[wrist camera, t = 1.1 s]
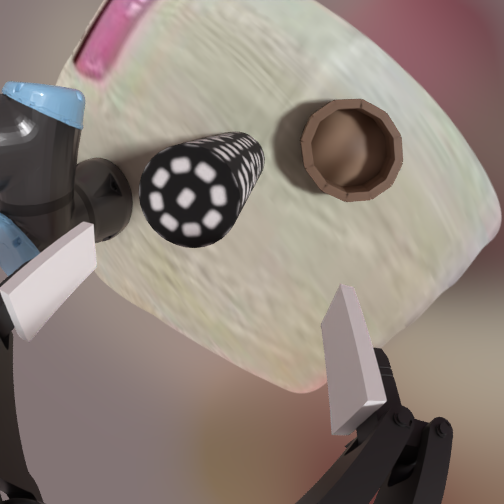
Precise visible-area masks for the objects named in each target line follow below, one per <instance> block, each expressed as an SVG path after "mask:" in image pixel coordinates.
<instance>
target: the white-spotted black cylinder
mask: <svg viewBox="0 0 504 504" xmlns="http://www.w3.org/2000/svg"><path fill="white" fill-rule="evenodd" d="M264 160H265V158H264V152H263V150H262V147H261V146H260V144H259V143H258V142H257V141H256V140H255V139H254V138H253V137H251V136H250V135H248V134H245V133H242V132H229V133H225V134H220V135H215V136H211V137H206V138H202V139H198V140H194V141H190V142H186V143H182V144H178V145H175V146H171V147H168V148H166V149H164V150H162V151H160V152H159V153H158V154H156V155H155V156H154V157H153V158H152V159H151V160H150V161H149V163H148V164H147V165H146V167H145V169H144V171H143V173H142V176H141V180H140V184H139V199H140V205H141V208H142V211H143V214H144V216H145V218H146V220H147V221H148V223H149V224H150V226H151V227H152V228H153V229H154V230H155V231H156V232H157V233H158V234H159V235H160V236H161V237H163V238H164V239H166V240H167V241H169V242H171V243H173V244H176V245H179V246H183V247H189V248H198V247H205V246H208V245H211V244H214V243H215V242H217V241H219V240H220V239H222V238H223V237H224V236H225V235H226V234H227V233H228V232H229V231H230V230H231V228H232V227H233V225H234V224H235V222H236V220H237V218H238V216H239V214H240V212H241V210H242V208H243V206H244V205H245V203H246V201H247V199H248V197H249V195H250V193H251V191H252V190H253V188H254V186H255V184H256V182H257V180H258V178H259V176H260V175H261V173H262V170H263V168H264Z"/></svg>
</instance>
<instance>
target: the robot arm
mask: <svg viewBox="0 0 504 504" xmlns="http://www.w3.org/2000/svg"><path fill="white" fill-rule="evenodd" d="M2 92H3V94H0V266H1V268H2V269H3V271H4V272H5V273H6V274H7V275H8V277H7V278H6V279H5V280H4V281H3V282H2V283H1V284H0V490H1V491H3V492H4V493H6V494H7V496H8V497H9V500H5V501H2V498H1V495H0V504H45V503H44V502H43V500H42V497H41V494H40V491H39V489H38V486H37V484H36V482H35V480H34V479H33V478H32V476H31V475H30V474H29V472H28V469H27V466H26V462H25V459H24V454H23V450H22V445H21V440H20V435H19V429H18V423H17V415H16V407H15V397H14V384H13V334H12V332H11V331H12V330H13V328H14V327H15V329H16V331H17V333H18V336H19V337H21V338H22V339H24V340H25V341H27V342H28V343H29V342H30V341H31V340H32V339H33V337H34V336H35V335H36V334H37V332H38V331H39V330H40V329H41V328H42V326H43V325H44V324H45V323H46V322H47V320H48V319H49V318H50V317H51V316H52V314H53V313H54V312H55V311H56V310H57V309H58V308H59V307H60V306H61V304H62V303H63V302H64V301H65V300H66V299H67V298H68V297H69V295H71V293H72V292H73V291H74V290H75V289H76V288H77V287H78V286H79V285H80V284H81V283H82V282H83V281H84V280H85V279H86V277H88V276H89V275H90V273H91V272H92V271H93V270H94V269H95V268H96V267H97V261H96V251H95V243H98V242H101V241H106V240H109V239H112V238H113V237H115V236H116V235H118V234H119V233H120V232H121V231H123V230H124V228H125V227H126V226H127V224H128V222H129V220H130V217H131V213H132V195H131V190H130V187H129V184H128V182H127V180H126V178H125V176H124V175H123V173H122V172H121V171H120V169H119V168H118V167H117V166H116V165H114V164H113V163H112V162H110V161H108V160H106V159H102V158H92V159H88V160H85V161H83V162H81V163H79V164H77V156H78V148H79V141H80V135H81V130H82V129H83V124H82V123H83V116H84V109H85V97H84V95H83V93H82V92H81V91H79V90H76V89H71V88H66V87H60V86H52V85H45V84H37V83H26V82H12V81H9V82H7V83H6V84H5V85H4V87H3V88H2ZM76 164H77V165H76ZM321 329H322V336H323V345H324V353H325V362H326V371H327V381H328V391H329V403H330V416H331V430H332V435H350V434H351V433H352V432H353V431H354V430H357V437H356V438H355V439H353V440H352V441H351V442H350V443H348V444H347V445H346V446H345V447H346V448H347V449H346V450H345V451H344V452H343V454H342V455H341V456H340V457H339V459H338V460H337V461H336V462H335V463H334V464H333V465H332V467H331V468H330V469H329V470H328V471H327V472H326V473H325V474H324V475H323V476H322V478H321V479H320V480H319V481H318V482H317V483H316V484H315V485H314V486H313V487H312V488H311V489H310V490H309V491H308V492H307V493H306V494H305V495H304V496H303V497H302V498H301V499H300V500H299V501H298V502H297V503H295V504H369V502H370V501H371V499H372V498H373V497H374V495H375V494H376V492H377V491H378V490H379V491H378V494H377V496H376V499H375V501H374V503H373V504H441V501H442V498H443V494H444V489H445V485H446V480H447V475H448V469H449V463H450V456H451V448H452V439H453V429H452V427H451V424H450V423H449V422H448V420H446V419H445V418H442V417H437V418H434V419H433V420H432V421H431V422H430V423H427V422H424V421H420V420H417V419H414V416H413V414H412V412H411V411H410V410H409V409H408V408H406V407H404V406H402V405H401V402H400V398H399V394H398V391H397V387H396V383H395V380H394V377H393V373H392V370H391V369H390V368H391V366H390V363H389V360H388V358H387V356H386V354H385V353H384V352H383V350H382V349H380V348H373V346H372V342H371V339H370V335H369V332H368V329H367V326H366V322H365V319H364V316H363V313H362V310H361V307H360V304H359V301H358V298H357V295H356V292H355V289H354V287H351V286H347V285H343V284H340V286H339V288H338V290H337V292H336V294H335V296H334V298H333V301H332V303H331V305H330V307H329V309H328V311H327V313H326V315H325V317H324V319H323V321H322V323H321ZM379 488H380V489H379Z"/></svg>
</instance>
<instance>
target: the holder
mask: <svg viewBox="0 0 504 504" xmlns="http://www.w3.org/2000/svg"><path fill="white" fill-rule="evenodd" d="M300 139H301V140H300V143H301V151H302V157H303V164H304V167H305V170H306V171H307V172H308V174H309V175H310V176H311V178H312V179H313V180H314V182H315V183H316V184H317V186H318V187H319V188H320V190H322V191H323V192H325V193H327V194H329V195H332V196H334V197H336V198H338V199H340V200H342V201H344V202H345V201H346V202H353V201H365V200H371V199H374V198H375V197H376V196H378V195H379V194H381V193H382V192H384V191H385V190H387V189H388V188H390V187H391V185H393V183H394V181H395V179H396V177H397V175H398V172H399V170H400V168H401V166H402V164H403V163H402V162H403V151H402V137H401V134H400V133H399V131H398V130H397V128H396V126H395V125H394V123H393V122H392V120H391V118H390V117H389V115H388V114H387V113H386V112H385V111H383V110H381V109H380V108H378V107H376V106H374V105H372V104H371V103H369V102H367V101H365V100H363V99H362V100H361V99H343V100H333V101H331V102H329V103H328V104H326V105H325V106H323V107H322V108H320V109H319V110H318V111H316V112H315V113H313V114H312V115H311V116H310V117H309V119H308V121H307V124H306V126H305V128H304V131H303V133H302V136H301V138H300Z"/></svg>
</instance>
